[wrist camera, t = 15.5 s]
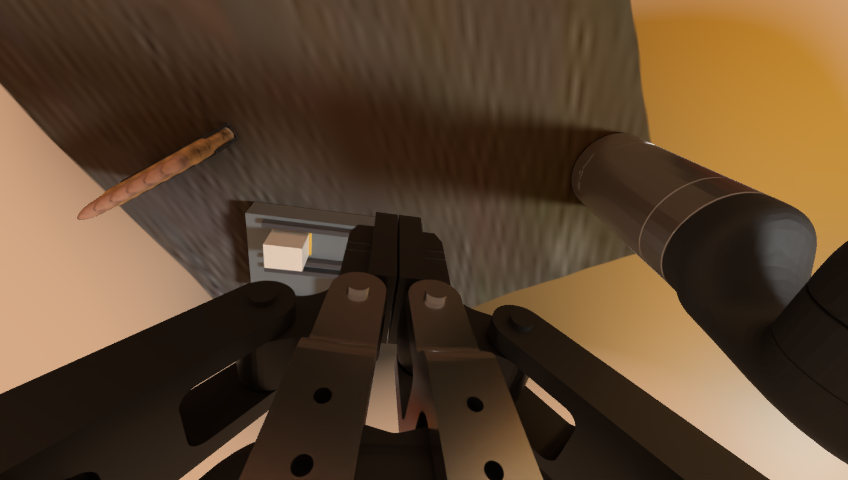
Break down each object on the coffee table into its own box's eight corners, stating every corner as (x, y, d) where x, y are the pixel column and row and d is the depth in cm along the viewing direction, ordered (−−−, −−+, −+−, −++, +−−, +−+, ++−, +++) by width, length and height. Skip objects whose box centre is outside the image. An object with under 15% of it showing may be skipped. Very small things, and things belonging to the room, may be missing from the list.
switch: (309, 233, 41) (302, 248, 38) (308, 255, 42) (302, 271, 39) (272, 229, 40) (262, 244, 37) (273, 251, 42) (264, 267, 39)
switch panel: (422, 222, 45) (423, 239, 41) (407, 297, 50) (408, 316, 47) (254, 201, 42) (241, 217, 38) (260, 282, 48) (249, 302, 44)
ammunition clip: (162, 180, 40) (79, 232, 30) (149, 165, 39) (59, 214, 29) (240, 138, 38) (180, 178, 28) (228, 122, 37) (162, 157, 27)
